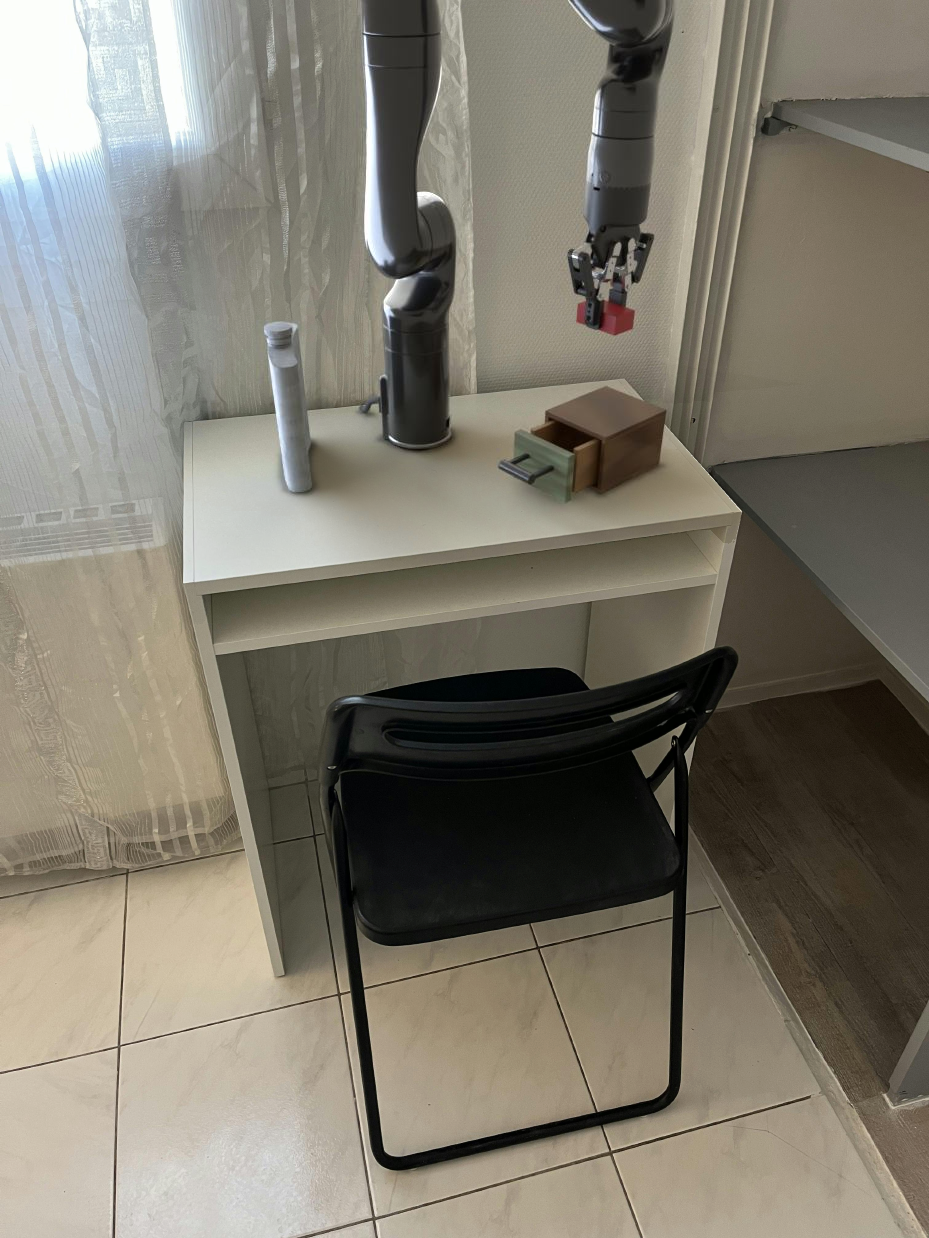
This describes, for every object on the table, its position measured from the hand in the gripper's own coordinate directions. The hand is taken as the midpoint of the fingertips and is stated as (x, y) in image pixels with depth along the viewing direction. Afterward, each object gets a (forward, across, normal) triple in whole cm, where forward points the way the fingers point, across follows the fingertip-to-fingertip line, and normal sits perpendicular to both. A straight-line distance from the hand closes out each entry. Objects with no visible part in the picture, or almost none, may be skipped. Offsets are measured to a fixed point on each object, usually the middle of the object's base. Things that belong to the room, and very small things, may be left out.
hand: (604, 323), depth 118 cm
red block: (0, 0, 0) cm, 0 cm away
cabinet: (+21, -2, 0) cm, 21 cm away
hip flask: (+21, +29, -29) cm, 46 cm away
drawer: (+20, +7, 0) cm, 21 cm away
